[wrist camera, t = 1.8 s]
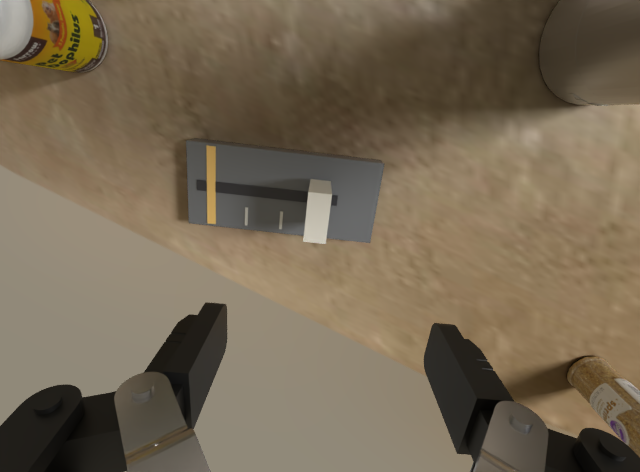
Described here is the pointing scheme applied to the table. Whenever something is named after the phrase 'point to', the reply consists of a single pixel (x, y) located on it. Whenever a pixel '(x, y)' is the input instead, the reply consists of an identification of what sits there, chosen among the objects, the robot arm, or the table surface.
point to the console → (279, 188)
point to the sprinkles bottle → (609, 397)
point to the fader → (317, 211)
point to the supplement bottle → (52, 34)
